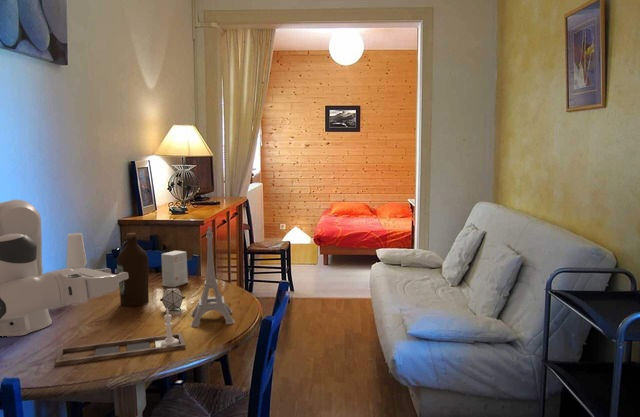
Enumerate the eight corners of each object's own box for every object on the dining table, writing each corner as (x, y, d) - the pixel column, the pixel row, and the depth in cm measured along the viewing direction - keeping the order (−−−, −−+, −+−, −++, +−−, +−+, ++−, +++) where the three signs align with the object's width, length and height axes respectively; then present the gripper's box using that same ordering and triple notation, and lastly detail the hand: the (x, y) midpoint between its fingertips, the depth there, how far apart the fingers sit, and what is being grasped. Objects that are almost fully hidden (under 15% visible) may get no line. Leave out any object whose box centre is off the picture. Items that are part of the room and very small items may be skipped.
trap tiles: (94, 358, 137) (94, 357, 137) (95, 349, 144) (95, 348, 144) (150, 351, 142) (150, 350, 142) (149, 342, 149) (149, 341, 149)
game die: (176, 321, 177) (176, 304, 171) (154, 312, 179) (153, 294, 172) (190, 303, 184) (190, 285, 177) (169, 293, 185) (168, 275, 179)
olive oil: (147, 297, 194) (144, 230, 192) (152, 304, 185) (149, 234, 182) (117, 301, 189) (113, 232, 187) (121, 308, 180) (117, 236, 177)
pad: (156, 350, 143) (156, 349, 143) (154, 341, 149) (154, 340, 149) (179, 347, 145) (179, 346, 145) (176, 338, 151) (176, 338, 151)
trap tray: (55, 366, 133) (55, 362, 133) (59, 351, 142) (59, 348, 142) (185, 348, 144) (185, 344, 144) (181, 336, 153) (181, 333, 153)
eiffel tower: (191, 314, 174) (187, 224, 171) (231, 311, 177) (229, 223, 174) (190, 327, 161) (186, 231, 158) (234, 324, 164) (231, 229, 161)
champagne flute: (88, 300, 191) (84, 234, 188) (68, 302, 188) (63, 236, 186) (89, 295, 197) (85, 232, 194) (69, 297, 195) (65, 233, 192)
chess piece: (177, 339, 150) (174, 305, 149) (180, 344, 145) (178, 309, 144) (159, 343, 148) (156, 308, 147) (162, 348, 143) (159, 312, 142)
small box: (176, 281, 217) (175, 250, 216) (188, 282, 214) (187, 251, 213) (162, 285, 210) (160, 253, 209) (174, 287, 207) (172, 255, 206)
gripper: (50, 293, 137) (102, 279, 147) (84, 305, 123) (139, 289, 133) (46, 269, 136) (98, 257, 146) (80, 278, 122) (135, 265, 132)
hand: (118, 273), depth 139 cm, fingers open, 8 cm apart
